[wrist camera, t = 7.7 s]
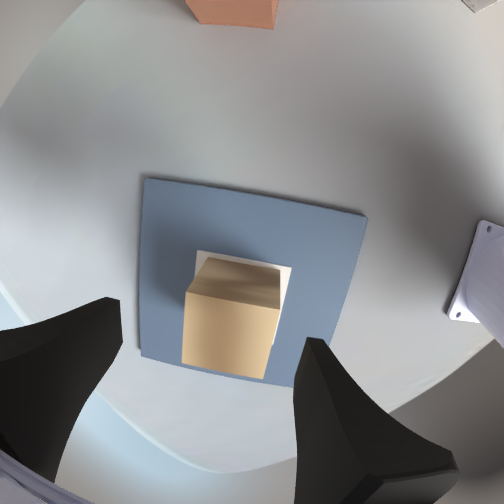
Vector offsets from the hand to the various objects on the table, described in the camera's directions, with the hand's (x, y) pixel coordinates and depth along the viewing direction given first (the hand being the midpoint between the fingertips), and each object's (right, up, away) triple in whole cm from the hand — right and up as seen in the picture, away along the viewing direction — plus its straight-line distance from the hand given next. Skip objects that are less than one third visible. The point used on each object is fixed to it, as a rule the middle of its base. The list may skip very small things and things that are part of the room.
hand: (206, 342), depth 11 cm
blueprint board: (+1, 0, +10) cm, 10 cm away
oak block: (+1, 0, +9) cm, 9 cm away
